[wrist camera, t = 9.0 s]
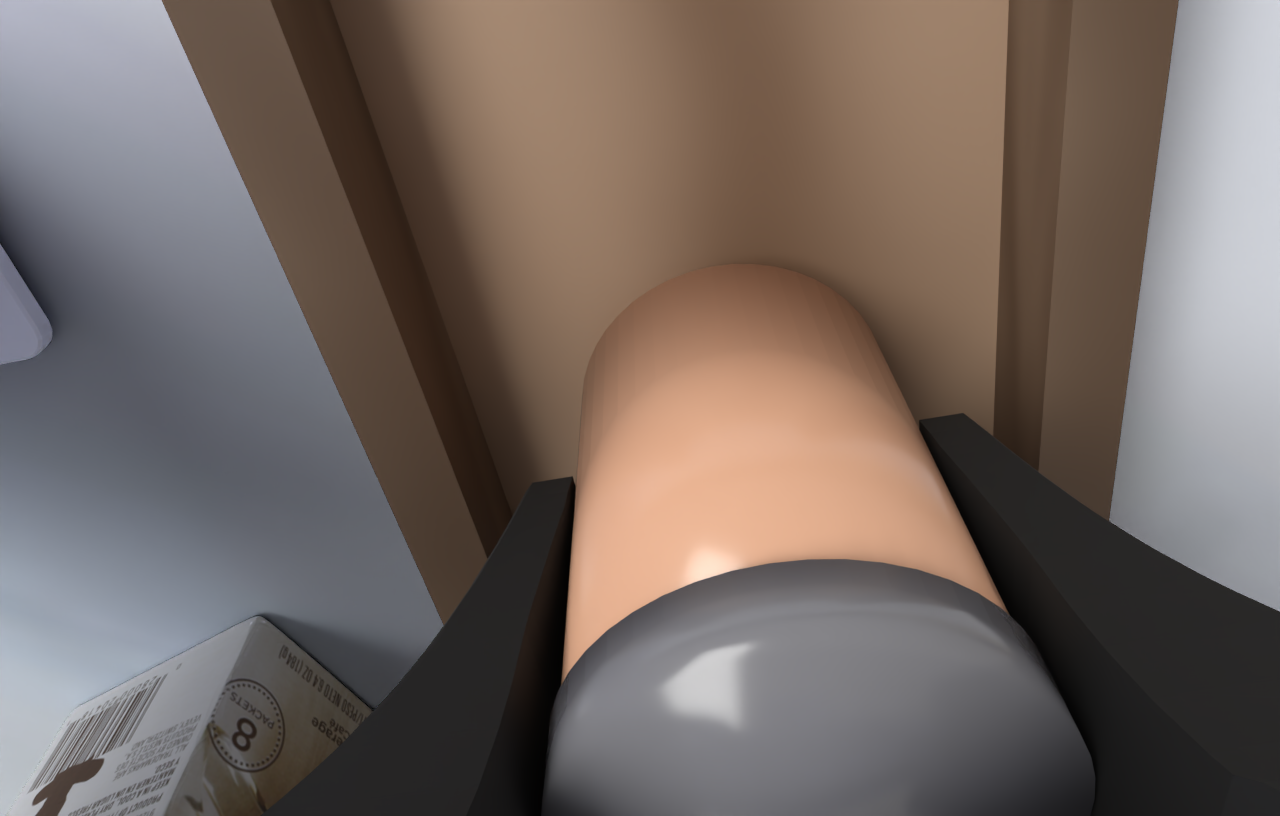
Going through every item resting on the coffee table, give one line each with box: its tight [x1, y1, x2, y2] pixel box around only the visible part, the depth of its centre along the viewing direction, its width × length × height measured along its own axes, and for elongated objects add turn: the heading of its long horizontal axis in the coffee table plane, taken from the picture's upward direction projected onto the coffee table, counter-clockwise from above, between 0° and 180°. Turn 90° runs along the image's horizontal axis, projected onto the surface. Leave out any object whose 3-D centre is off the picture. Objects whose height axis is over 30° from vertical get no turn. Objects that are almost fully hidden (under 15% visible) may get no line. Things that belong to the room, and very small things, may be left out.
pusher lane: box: [162, 0, 1179, 625], centre depth 14 cm, size 12×22×6 cm, turn 11°
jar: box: [541, 264, 1096, 816], centre depth 12 cm, size 5×5×8 cm
